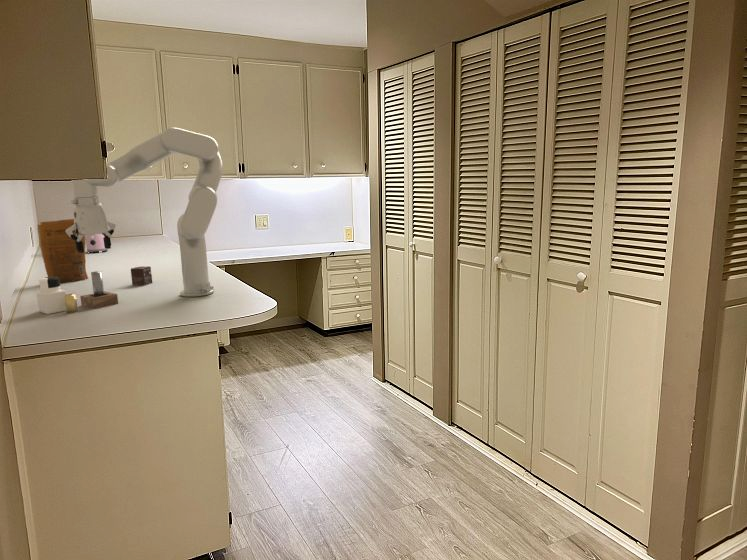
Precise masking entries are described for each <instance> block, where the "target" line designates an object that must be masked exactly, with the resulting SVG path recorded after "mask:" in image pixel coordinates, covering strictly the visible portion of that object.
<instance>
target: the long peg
mask: <svg viewBox="0 0 747 560" xmlns="http://www.w3.org/2000/svg"><path fill="white" fill-rule="evenodd" d="M90 276H91V282H92V290H93V294H94V297H98V296H104V291H105V290H104V289H105V288H104V281H103V273H102V271H100V270H99V271H98V270H96V271H95V270H94V271H90Z"/></svg>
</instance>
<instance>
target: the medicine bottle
mask: <svg viewBox="0 0 747 560" xmlns="http://www.w3.org/2000/svg"><path fill="white" fill-rule="evenodd" d="M38 281H39V287H40V290H39V291H36V300H37V307H38V311H39V312H40V313H43V314H46V315H50V314H55V313H61V312H67V311H66V304H65V296H64V295H67V291H66V290H65V289H61V288H62V287H61V283H60V280H59V278H58V277H48V276H45V277H42V278H40V279H39V280H38Z"/></svg>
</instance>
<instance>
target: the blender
mask: <svg viewBox="0 0 747 560" xmlns="http://www.w3.org/2000/svg"><path fill="white" fill-rule="evenodd" d="M99 205H102V206H103V204H102V203H101V202H99ZM103 238H104V235H102V234H94V235H85V246H86V251H87V253H88V252H90V253H91V252H98V251H102V252H103V251H104V252H105V250H107V251H108V250H109V249H107V248H105V246H104V240H103Z"/></svg>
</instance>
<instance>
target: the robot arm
mask: <svg viewBox="0 0 747 560" xmlns="http://www.w3.org/2000/svg"><path fill="white" fill-rule="evenodd" d="M219 149H220V148H219V144H218V143H217V141H216V140H215V139H214V138H213V137H211V136H209V135H205V134H203V133H196V132H194V131H189V130H186V129H183V128H179V127H168V128H166V129H165V130H163V131H162V132H160V133H158V134H156V135H155V136H152V137H150V138H149V139H147V140H145V141H143V142H141V143H139V144H137V145H136V146H134V147H132V148H131V149H130V150H129V151H128V152H126V153H125V154H123V155H121V156H120V157H118V158H116V159H114V160H112V161H111V162H109V163H107V175H108V178H107V179H88V180H71V185H72V186H71V187H72V191H73V195H74V198H73V200H72V199H71V200H70V203H71V205H74V207H73V219H74V225H72V226H71V227H69V228H68V229H66V230H65V231H66V233H67V234H68V235H69V237H70V238H71V239H73V240H74V241H75V243H76V249H77V251H78V252H79V253H84V248H83V242H82V241H81V239H82V237H83V236H84V235H85V236H86V235H94V234H102V235H104V238H103V240H104V246H105V248H107V249H108V250H109V249H112V242H111V237H112V236H113V234H114V232H115V229H116V225H117V224H115V223H112V222H109V221H108V220H107V215H106V213H105V210H104V206H103V204H102V205H99V203H100V199H99V193H98V187H104V188H105V187H107V188H108V187H109V188H110V187H113V186H115V185H117V184H119V183H120V182H122V181H124V180H126V179H128V178H130V177H131V176H134V175H135V174H137V173H139V172H142V171H145V170H148V169H150V168H151V167H154V165H157V164H158V163H160V162H162V161H163V160H165V159H168V158H169V157H171V156H172V155H174V154H177V153H178V154H182V155H185V156H189V157H193V158H196V160H197V161H198V163H199V166H198V168H199V169H198V172H197V175H196V178H195V180H194V182H193V185H192V188H191V189H190V192H189V193H188V203H187V205H186V209H185V211H184V212H183V213H182V214H181V215H180V216H179V218H178V220H177V224H176V227H177V235H178V242H179V250H180V251H179V252H180V253H179V254H180V262H181V273H182V283H183V290H180V292H179V295H180V296H182V297H188V298H191V297H203V296H208V295H212V294H213V293H214V292H215V289H214V286H213V285H211V282H210V279H209V266H208V257H207V243H206V236H205V234H207V233H206V232H207V231H208V228H209V226H210V223H211V221H212V218H213V216H214V213H215V210H216V207H217V204H218V195H217V191H218V187H219V184H220V182H221V178H222V176H223V170H224V169H223V168H224V165H223V161H222V158H221V155H220V152H219ZM73 230H75V232H76V236H75V235H73V233H72V231H73Z"/></svg>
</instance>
